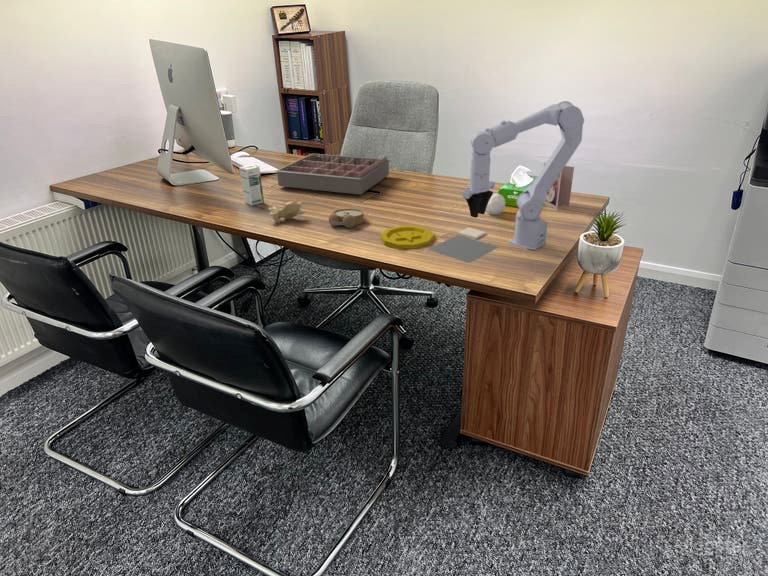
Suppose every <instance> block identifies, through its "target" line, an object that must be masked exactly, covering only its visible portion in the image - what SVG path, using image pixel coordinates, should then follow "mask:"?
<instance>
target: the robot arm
mask: <svg viewBox="0 0 768 576" xmlns="http://www.w3.org/2000/svg"><path fill="white" fill-rule="evenodd" d="M583 115H584V114H583V112H582V110H581V109H580V108H579V107H578V106H575V105H574V104H573V103H572V102H570V101H569V100H564V101H563V100H562V101H560V102H559V103H555V104H551V105H549V106H547V107H545V108H543V109H541V110H539V111H537V112H534V113H531V114H530V115H528V116H526V117H524V118H522V119H519V120H518V121H517V120H516V121H515V122H513V121H511V120H507V121H505V120H501V121H500V124H498V125H495V126H492V127H490V128H488V127H486V128H484V131H482V130H480V131H477V132H476V133H474V134H473V135H472V137H471V139H470V145H471V146H472V151H471V157H470V159H471V160H470V175H469V176H470V178H469V179H470V180H469V183H468V184H467V185H466V187H467V188H466V189H465V190H463V191H462V198H463V199H465V201H466V203H467V206H468V209H469V213H470V217H471V218H474V219H475V218H478V216H479V214H480V215H485V213H486V212H487V211H486V207H487V204H488V202H489V200H490V198H491V196H492V195H493V194H494V191H492V189H495V187H496V181H491V180H490V174H491V173H490V170H491V151H492V150H493V148H498V147H500V146H502V145H505V144H507V143H510V142H511V141H515V140H516V139H517V137H518V135H519V134H520V133H524V132H526V131H528V130H531V129H534V128H536V127H537V128H538V127H539V126H542V125H545V124H547V125H552V126H556V127H557V126H558V127H559V131H560V134H561V140H560V141H559V143H558V145H556V147H555V149H554V150H553V152H552V153H551V155H550V156H549V158H548V159H547V160H546V162H545V163H546V164H545V166H544V165H543V167H542V168H541V171H540V172H539V174H538V175H537V176H536V178H535V180H534V181H533V182H532V183H531V184H530V185H529V186H528V187H526V189H525V190H524V191H523V192H521V193H520V194H519V195H518V196H517V198H516V206H517V208H518V211H517V213H516V214H515V225H514V235H513V236H514V237H513V238H512V239H510V240H508V243H509V244H513V245H516V246H519V247H522V248H525V249H528V250H531V251H535V250H537V249H539V248H541V247H542V246H544V245H547V240H546V239H547V233H548V232H547V231H548V222H547V221H546V220H544V219H542V218H541V215H542V212H543V206H544V205H545V204H544V203H545V200H546V195H547V192H548V191H549V189H550V188H551V186H552V185H553V183H554V182H555V180H556V179H557V177H558V176H559V174H560V173H561V171H562V170H563V168H564V167H565V166H567V164H568V163H569V161H570V159H571V158H572V157H573V155H574V154H575V152H576V150H577V149H578V147H579V146H580V144H581V143H582V140H583V130H584V129H583V128H584V127H583V126H584V123H585V119H584V116H583ZM490 189H491V190H490Z"/></svg>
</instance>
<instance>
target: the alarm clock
mask: <svg viewBox="0 0 768 576" xmlns="http://www.w3.org/2000/svg"><path fill="white" fill-rule="evenodd" d="M364 215H365V213H364V210H361V209H359V208H358V209H357V208H339V209H336V210H334V211H333V210H332V212H331V213H330V215H329V216H328V222H329V224H330V225H331V227H338V226H344V227H345V228H347V229H352V228H354V227H355V226H356V225H360V224H362V223H364V221H365V220H364Z"/></svg>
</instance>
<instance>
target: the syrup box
mask: <svg viewBox="0 0 768 576" xmlns="http://www.w3.org/2000/svg"><path fill="white" fill-rule="evenodd" d="M239 173H240V174H239V175H240V179H241V186H242V187H241V188H242V193H243V198H244V199H243V200H244V203H245V204H247V205H249V206H255V205H258V204H262V203H264V202H265V199H264V192H263V185H262V184H263V183H262V176H261V168H260V166H259V165H255V164H250V165H244V166H239Z"/></svg>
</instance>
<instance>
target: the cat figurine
mask: <svg viewBox="0 0 768 576" xmlns="http://www.w3.org/2000/svg"><path fill="white" fill-rule="evenodd" d="M302 206H303V201H299V202H296V201H295V200H290V201H288V202H285V203H284V206H283V208H278V207H277V206H275V205H273V204H268V212H269V215H270V217H271V218H272V220H274V221H275V223H277V224H280V219H282V218H283V219H284V220H290V219H293V218H295V217H297V216H298V215H304V214H305V213H306V210H303V209H302Z"/></svg>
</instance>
